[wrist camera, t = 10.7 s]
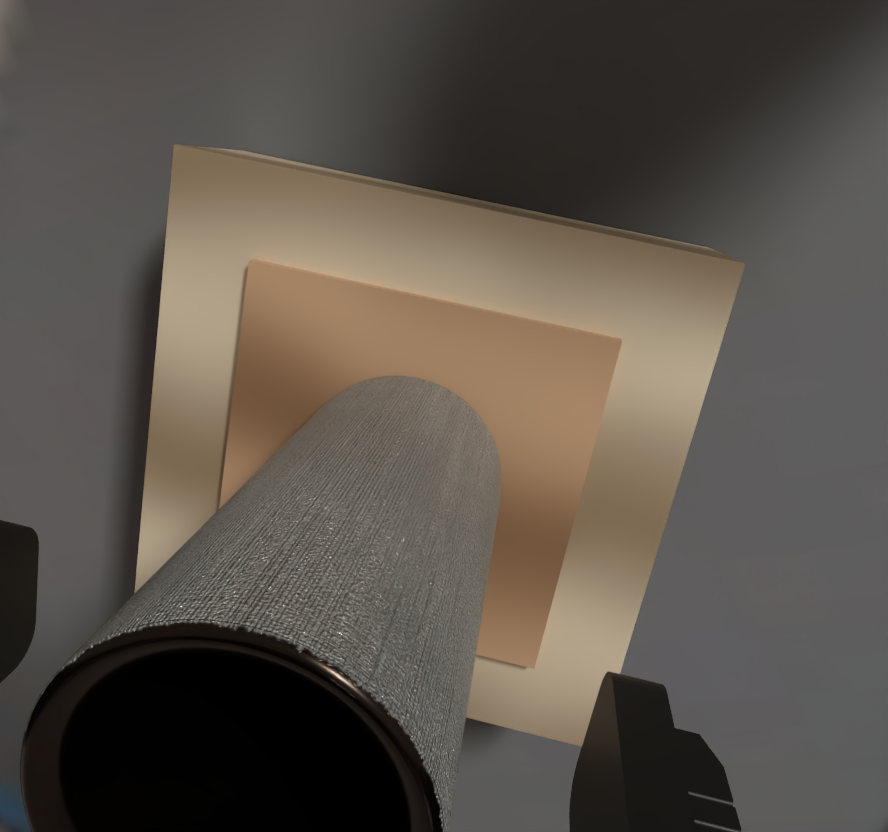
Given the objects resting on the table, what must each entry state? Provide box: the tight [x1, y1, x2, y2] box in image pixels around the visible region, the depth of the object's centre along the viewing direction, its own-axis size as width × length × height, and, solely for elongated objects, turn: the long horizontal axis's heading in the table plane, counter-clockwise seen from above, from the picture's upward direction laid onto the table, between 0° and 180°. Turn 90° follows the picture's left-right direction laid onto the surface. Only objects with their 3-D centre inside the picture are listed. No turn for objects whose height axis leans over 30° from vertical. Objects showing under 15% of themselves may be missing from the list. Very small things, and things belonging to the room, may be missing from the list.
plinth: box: [134, 144, 745, 746], centre depth 20 cm, size 12×12×4 cm
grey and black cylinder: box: [20, 376, 501, 832], centre depth 13 cm, size 4×4×10 cm
